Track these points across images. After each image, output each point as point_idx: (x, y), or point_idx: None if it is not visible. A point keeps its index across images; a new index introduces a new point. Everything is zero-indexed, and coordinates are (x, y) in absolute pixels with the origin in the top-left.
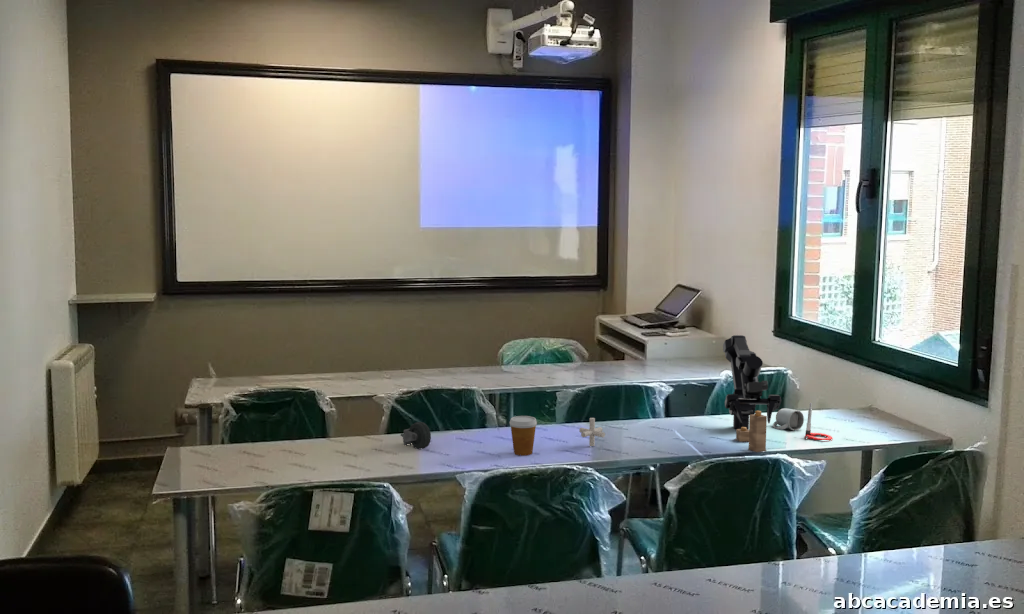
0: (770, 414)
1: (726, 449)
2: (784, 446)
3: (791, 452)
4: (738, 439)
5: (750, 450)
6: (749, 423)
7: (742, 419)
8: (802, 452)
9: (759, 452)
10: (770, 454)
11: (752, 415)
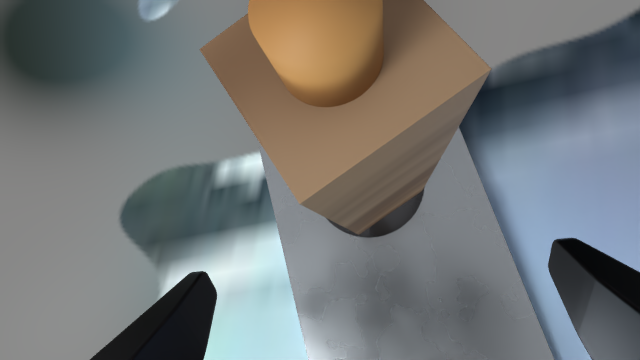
0: (107, 356)
1: (576, 208)
2: None
3: (182, 212)
4: None
5: None
6: (454, 129)
7: (577, 257)
8: (130, 222)
9: None
10: None
11: (433, 39)
